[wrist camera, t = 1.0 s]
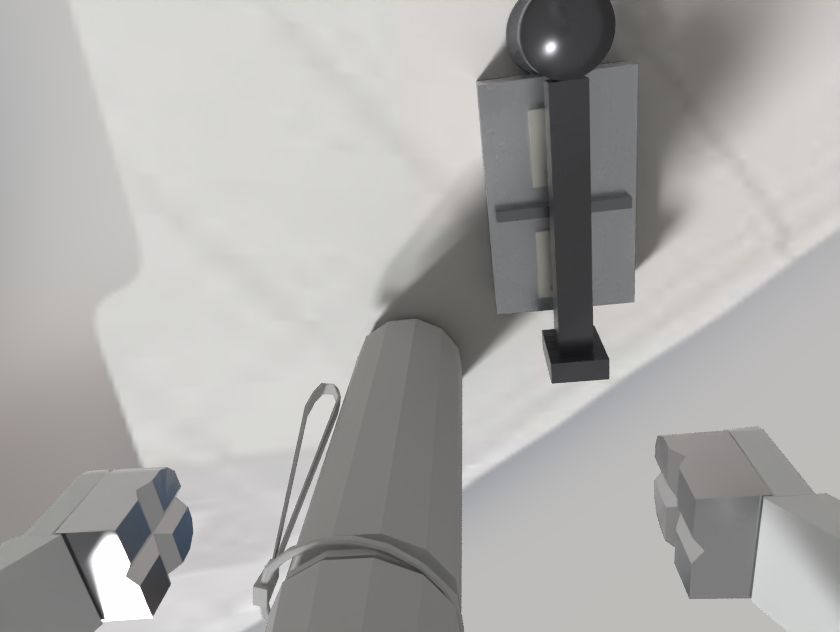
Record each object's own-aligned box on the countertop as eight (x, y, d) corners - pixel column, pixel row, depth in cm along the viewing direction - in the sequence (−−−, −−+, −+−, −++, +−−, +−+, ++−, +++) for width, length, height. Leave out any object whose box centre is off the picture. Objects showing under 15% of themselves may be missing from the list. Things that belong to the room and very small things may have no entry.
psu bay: (476, 81, 34) (477, 86, 30) (623, 61, 33) (642, 64, 29) (494, 295, 39) (497, 320, 36) (622, 282, 38) (638, 307, 35)
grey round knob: (502, -9, 32) (508, -15, 28) (588, -22, 31) (607, -30, 27) (508, 80, 34) (515, 87, 29) (589, 69, 33) (607, 74, 29)
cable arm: (512, -10, 28) (519, -16, 25) (600, -23, 28) (620, -32, 24) (534, 349, 36) (542, 384, 32) (603, 343, 36) (619, 378, 32)
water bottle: (472, 316, 40) (484, 688, 17) (455, 414, 43) (446, 834, 21) (334, 297, 40) (165, 643, 17) (327, 397, 43) (178, 796, 21)
